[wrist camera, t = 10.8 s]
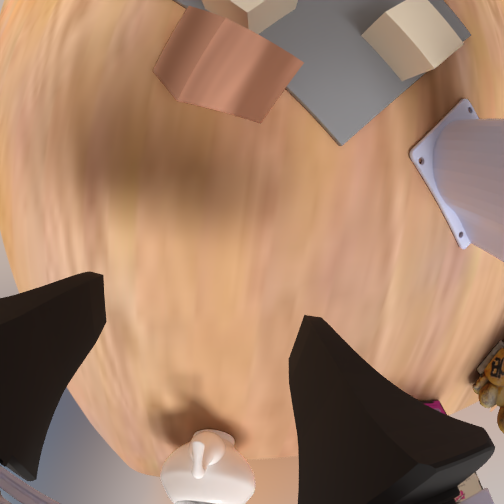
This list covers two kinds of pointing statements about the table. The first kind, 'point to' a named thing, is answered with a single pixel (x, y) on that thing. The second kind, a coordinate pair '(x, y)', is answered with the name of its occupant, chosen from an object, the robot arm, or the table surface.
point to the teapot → (208, 471)
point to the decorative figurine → (492, 382)
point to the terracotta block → (224, 66)
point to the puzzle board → (350, 50)
